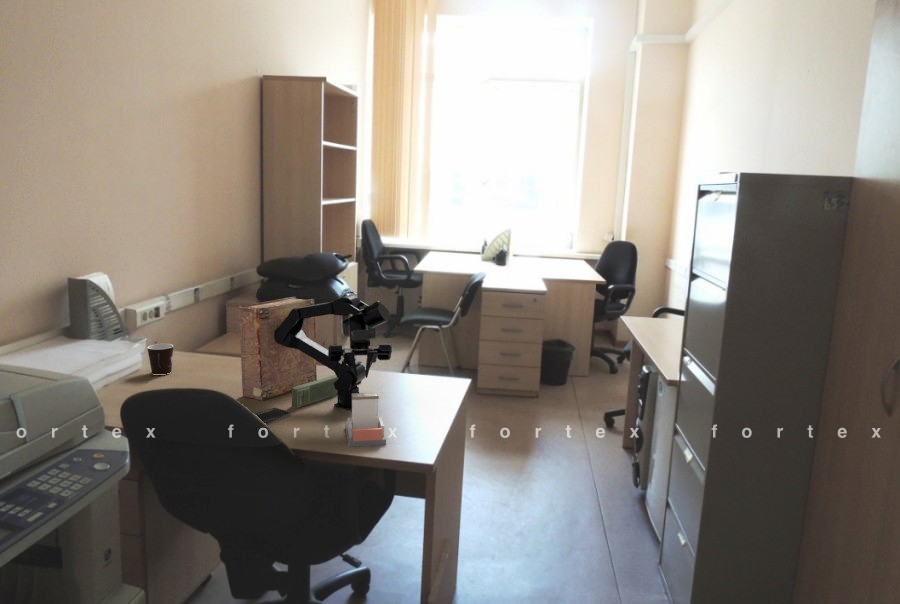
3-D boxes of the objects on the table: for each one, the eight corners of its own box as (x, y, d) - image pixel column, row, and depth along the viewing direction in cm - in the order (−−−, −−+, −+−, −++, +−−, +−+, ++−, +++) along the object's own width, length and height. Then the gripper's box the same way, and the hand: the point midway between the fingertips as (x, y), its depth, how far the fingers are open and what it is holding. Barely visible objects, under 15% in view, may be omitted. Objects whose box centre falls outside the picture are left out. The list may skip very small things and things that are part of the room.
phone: (233, 420, 185) (274, 407, 197) (234, 424, 185) (274, 410, 197) (251, 427, 181) (292, 412, 193) (251, 430, 181) (292, 416, 193)
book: (297, 378, 230) (295, 296, 225) (317, 382, 225) (315, 298, 221) (242, 396, 209) (238, 306, 204) (262, 401, 204) (258, 309, 199)
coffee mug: (157, 369, 236) (156, 343, 234) (179, 370, 235) (178, 344, 233) (138, 378, 225) (136, 350, 223) (161, 379, 223) (159, 352, 222)
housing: (345, 428, 184) (345, 413, 183) (379, 426, 186) (380, 411, 185) (348, 446, 171) (348, 430, 170) (386, 444, 173) (386, 428, 172)
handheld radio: (289, 407, 201) (345, 388, 221) (296, 409, 199) (352, 390, 219) (290, 386, 199) (346, 370, 220) (297, 389, 198) (353, 372, 218)
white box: (351, 427, 180) (351, 393, 178) (377, 426, 181) (377, 392, 180) (352, 431, 177) (352, 397, 175) (378, 430, 178) (378, 396, 176)
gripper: (328, 318, 187) (330, 365, 178) (391, 317, 191) (396, 363, 183) (327, 338, 196) (329, 383, 187) (387, 337, 200) (392, 381, 192)
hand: (361, 377), depth 187 cm, fingers open, 3 cm apart
